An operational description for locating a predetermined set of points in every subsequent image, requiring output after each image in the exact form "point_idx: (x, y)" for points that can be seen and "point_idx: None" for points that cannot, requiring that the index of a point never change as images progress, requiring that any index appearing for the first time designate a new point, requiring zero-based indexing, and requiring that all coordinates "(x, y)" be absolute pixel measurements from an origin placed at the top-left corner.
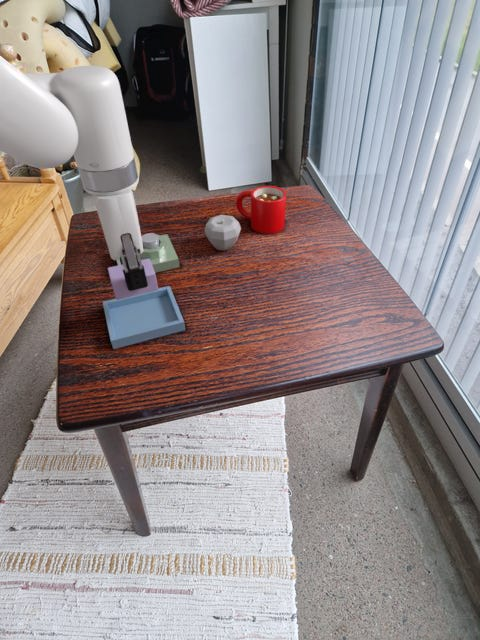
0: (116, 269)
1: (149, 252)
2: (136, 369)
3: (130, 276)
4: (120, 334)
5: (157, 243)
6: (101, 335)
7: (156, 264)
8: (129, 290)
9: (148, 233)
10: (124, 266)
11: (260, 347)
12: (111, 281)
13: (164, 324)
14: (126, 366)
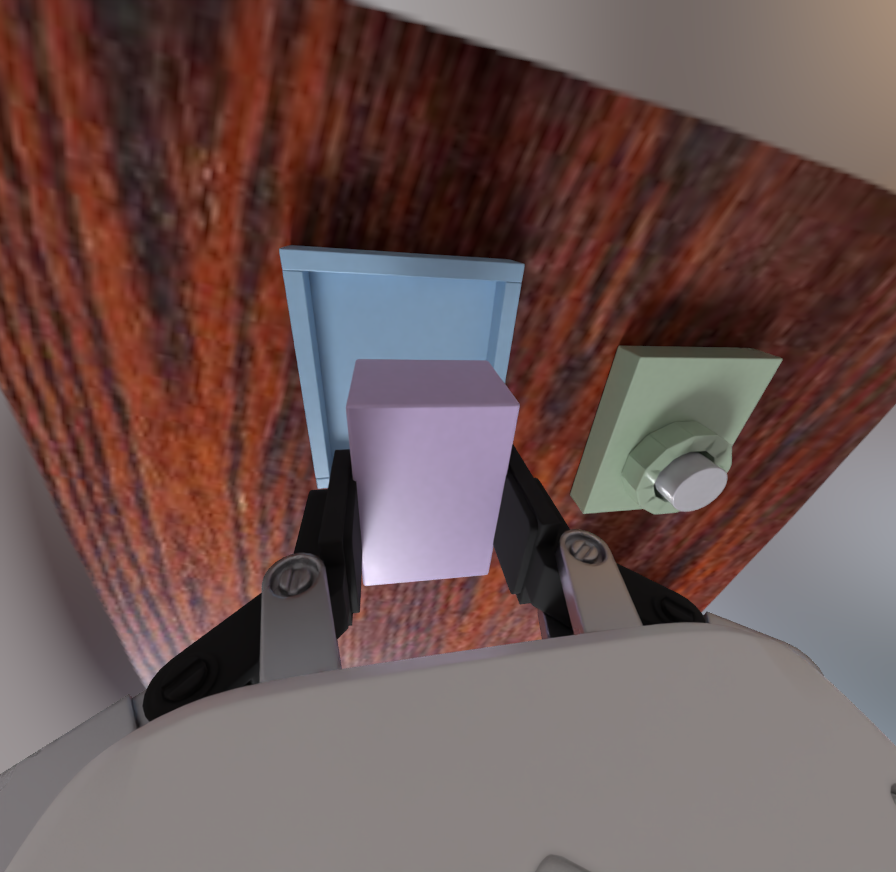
0: (476, 447)
1: (646, 469)
2: (169, 306)
3: (296, 548)
4: (349, 289)
5: (664, 497)
6: (381, 214)
7: (600, 461)
8: (335, 452)
9: (720, 491)
10: (261, 622)
11: (220, 587)
12: (373, 408)
13: (320, 441)
14: (189, 274)
